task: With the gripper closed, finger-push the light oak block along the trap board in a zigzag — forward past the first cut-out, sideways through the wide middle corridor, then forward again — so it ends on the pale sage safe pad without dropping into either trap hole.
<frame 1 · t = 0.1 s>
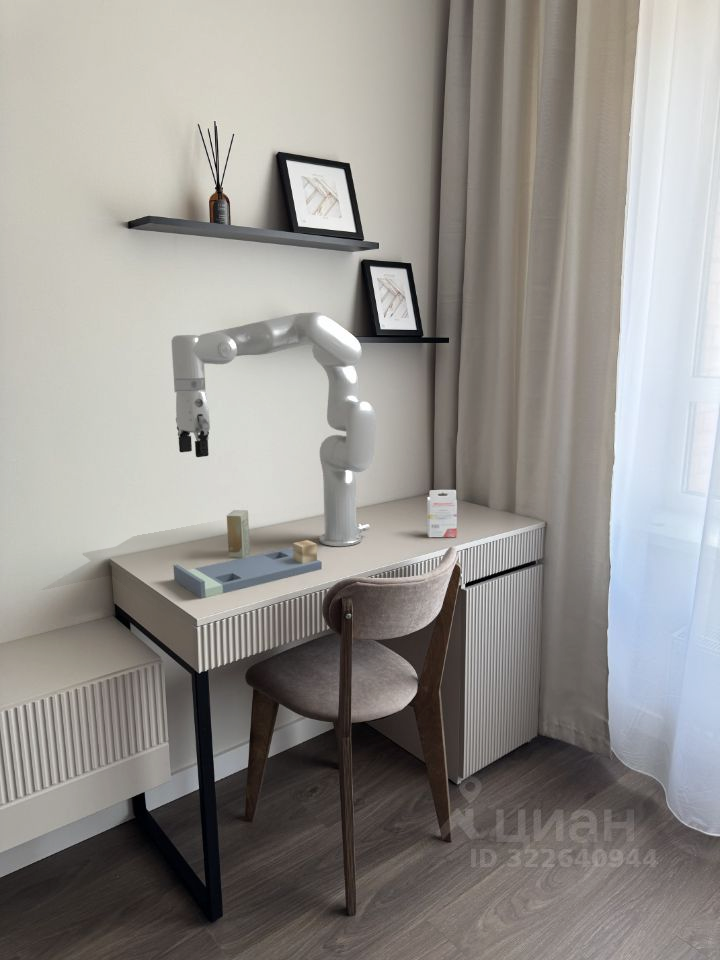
hand: (193, 454, 180), 31 cm above the table, fingers open, 9 cm apart
trap board: (249, 574, 184), on the table
skincare box: (239, 555, 201), on the table
block: (305, 559, 189), point 2 cm above the table, touching trap board
ink cartridge box: (441, 536, 217), on the table
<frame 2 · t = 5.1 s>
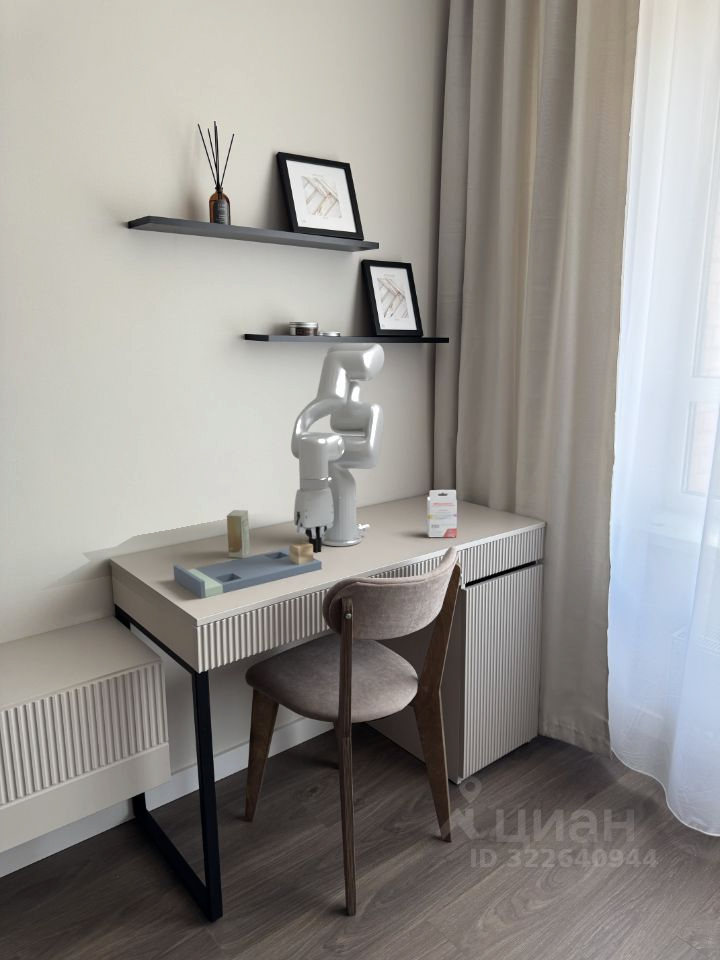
hand: (315, 551, 190), 4 cm above the table, fingers closed
block: (301, 560, 188), point 2 cm above the table, touching gripper
everything else where it was.
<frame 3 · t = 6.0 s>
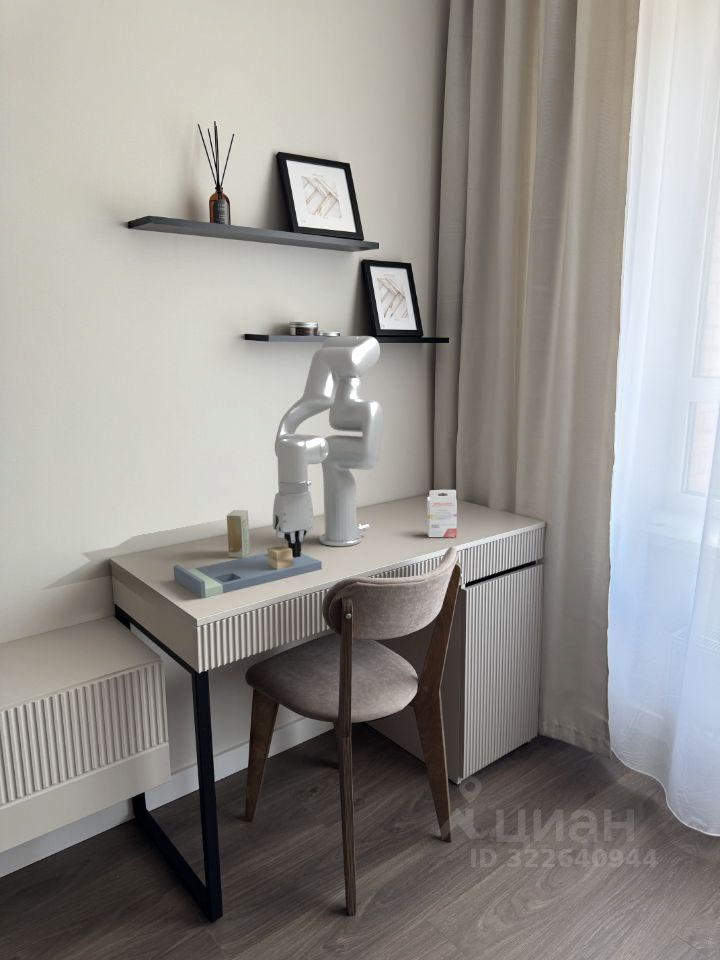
hand: (294, 556, 186), 4 cm above the table, fingers closed
block: (280, 565, 184), point 2 cm above the table, touching gripper
everything else where it was.
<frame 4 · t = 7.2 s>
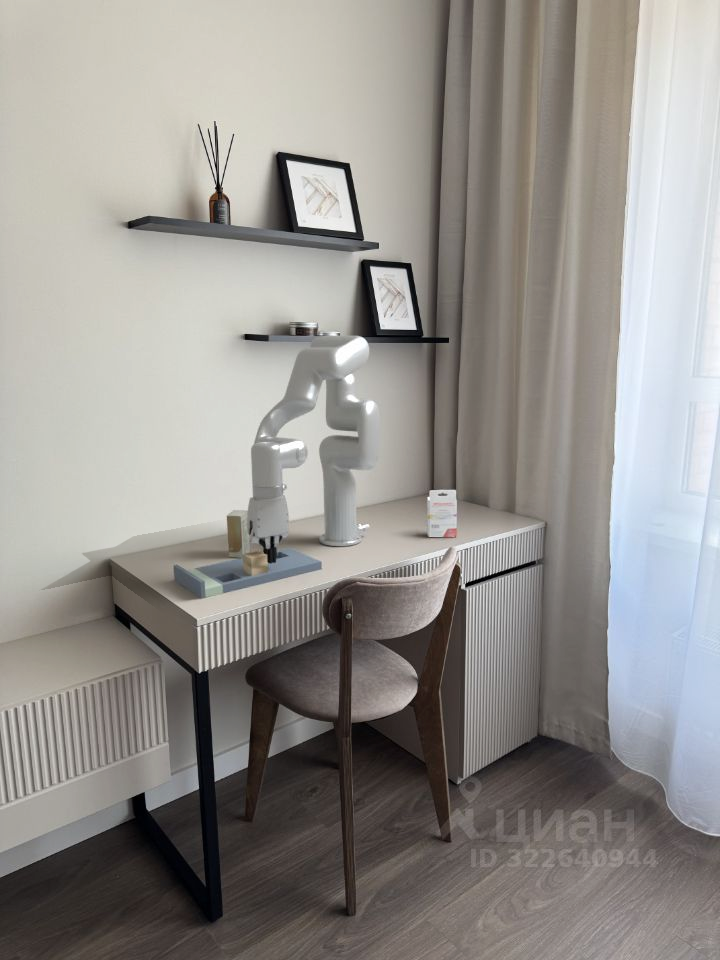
hand: (270, 561, 182), 4 cm above the table, fingers closed
block: (255, 571, 180), point 2 cm above the table, touching gripper, trap board
everything else where it was.
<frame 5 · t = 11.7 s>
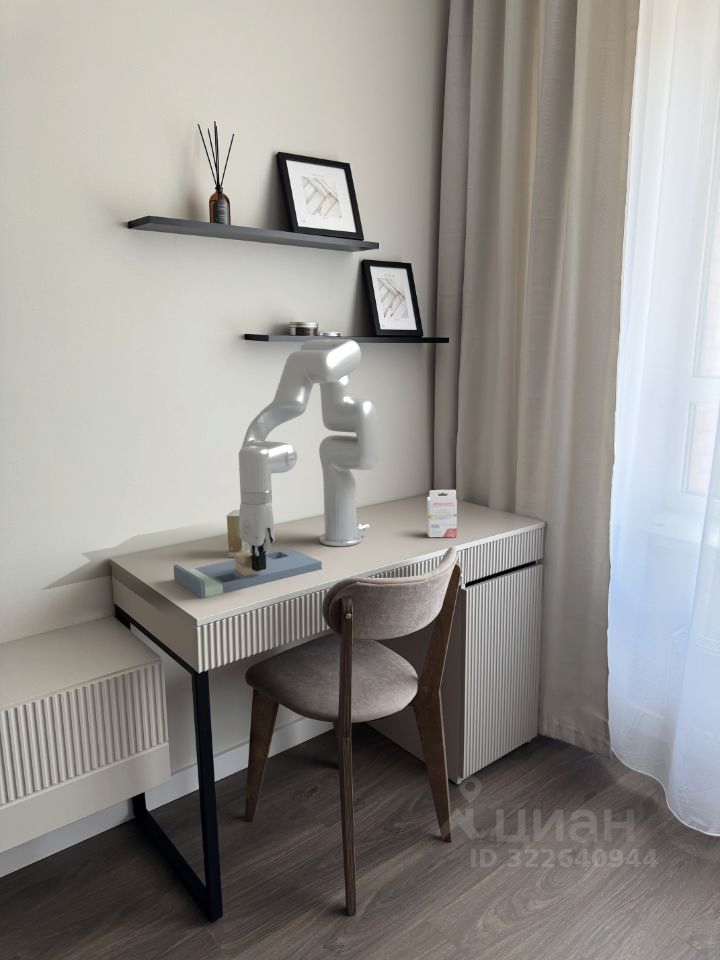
hand: (259, 569, 177), 3 cm above the table, fingers closed
block: (247, 571, 180), point 2 cm above the table, touching gripper, trap board
everything else where it was.
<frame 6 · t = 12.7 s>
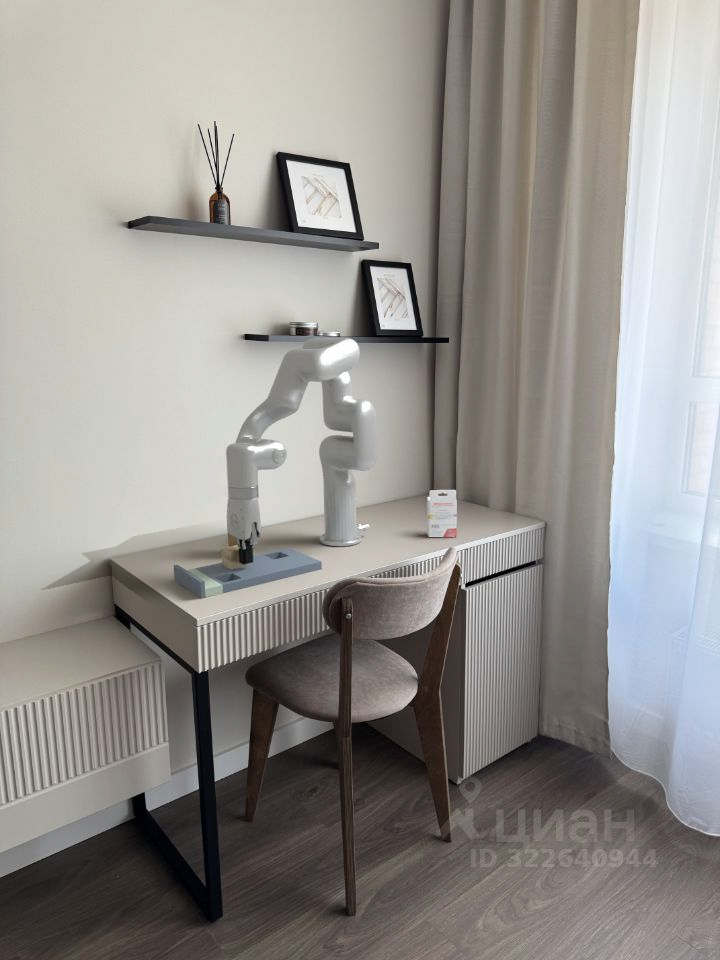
hand: (246, 562, 182), 4 cm above the table, fingers closed
block: (234, 565, 185), point 2 cm above the table, touching gripper
everything else where it was.
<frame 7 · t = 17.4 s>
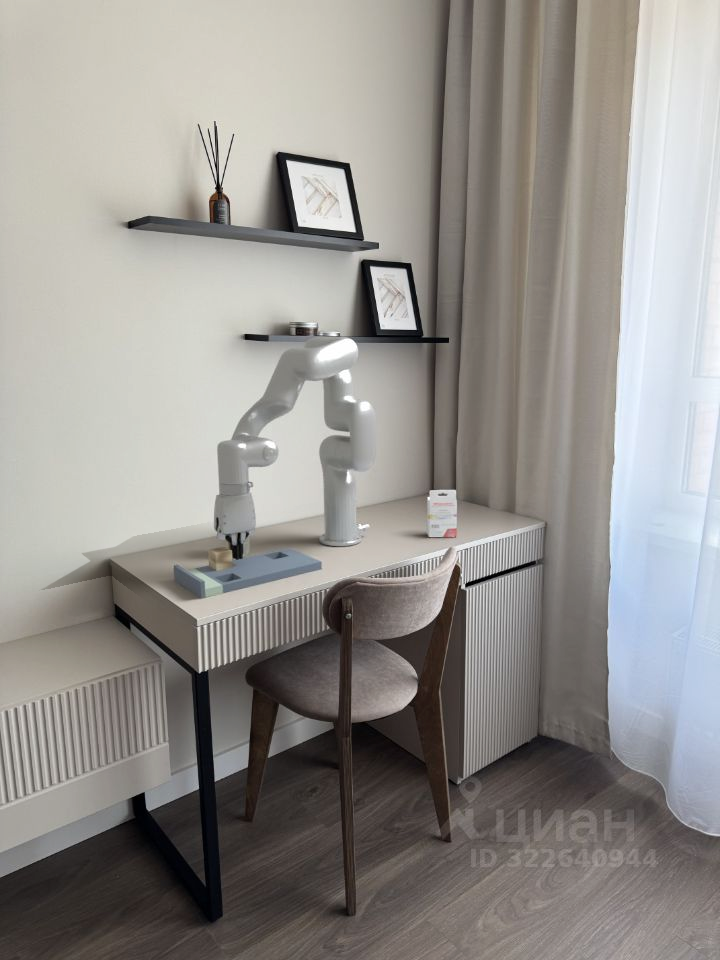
hand: (237, 557, 185), 4 cm above the table, fingers closed
block: (220, 567, 184), point 2 cm above the table, touching gripper
everything else where it was.
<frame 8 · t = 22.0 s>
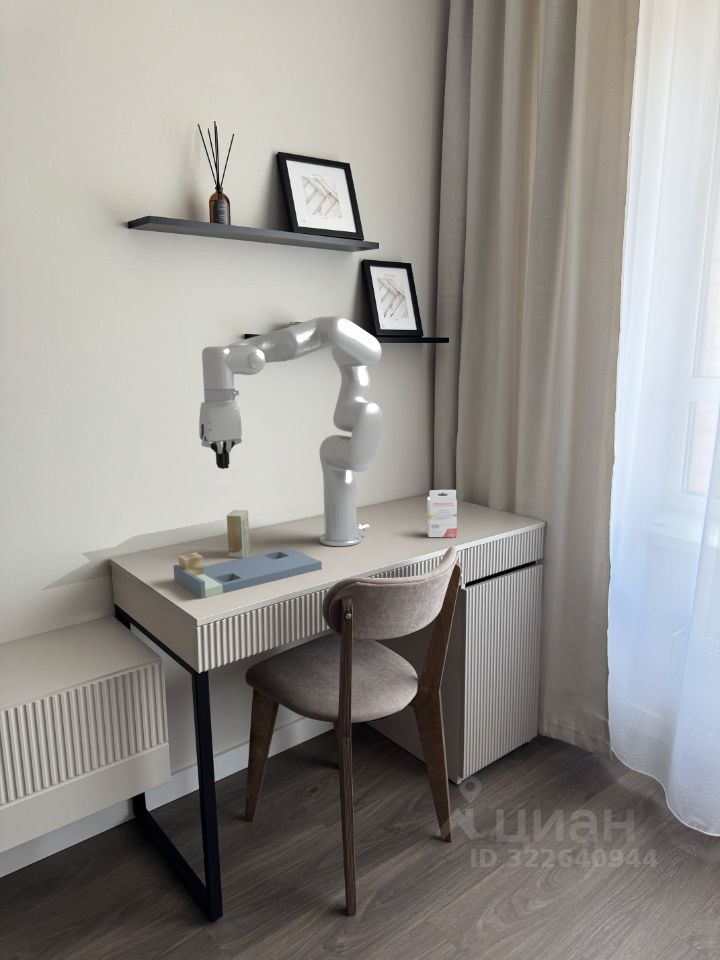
hand: (223, 467, 183), 27 cm above the table, fingers closed
block: (191, 573, 179), point 2 cm above the table, touching trap board
everything else where it was.
at the end: block inside the target area on the trap board (4.8 cm from its centre), point 2.0 cm above the trap board's base; block tilted 0° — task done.
